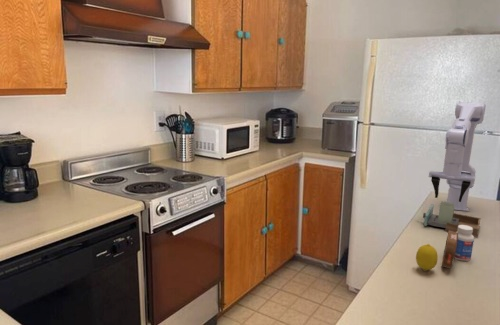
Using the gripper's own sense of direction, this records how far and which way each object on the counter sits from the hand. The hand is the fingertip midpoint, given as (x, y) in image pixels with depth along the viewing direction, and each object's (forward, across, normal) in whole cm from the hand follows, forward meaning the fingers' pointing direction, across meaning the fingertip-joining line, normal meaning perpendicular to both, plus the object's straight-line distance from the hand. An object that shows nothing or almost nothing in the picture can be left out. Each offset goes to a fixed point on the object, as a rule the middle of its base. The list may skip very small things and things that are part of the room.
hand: (448, 199), depth 142 cm
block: (+9, 0, 0) cm, 9 cm away
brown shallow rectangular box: (+10, +6, +1) cm, 12 cm away
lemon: (+11, 0, -40) cm, 42 cm away
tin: (+10, +5, -31) cm, 33 cm away
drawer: (+10, -2, +1) cm, 10 cm away
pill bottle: (+10, +8, -25) cm, 28 cm away
